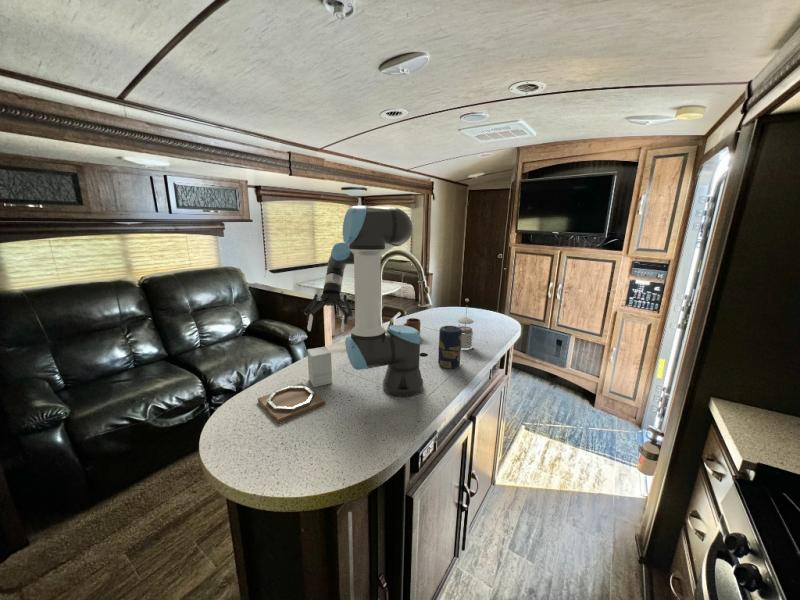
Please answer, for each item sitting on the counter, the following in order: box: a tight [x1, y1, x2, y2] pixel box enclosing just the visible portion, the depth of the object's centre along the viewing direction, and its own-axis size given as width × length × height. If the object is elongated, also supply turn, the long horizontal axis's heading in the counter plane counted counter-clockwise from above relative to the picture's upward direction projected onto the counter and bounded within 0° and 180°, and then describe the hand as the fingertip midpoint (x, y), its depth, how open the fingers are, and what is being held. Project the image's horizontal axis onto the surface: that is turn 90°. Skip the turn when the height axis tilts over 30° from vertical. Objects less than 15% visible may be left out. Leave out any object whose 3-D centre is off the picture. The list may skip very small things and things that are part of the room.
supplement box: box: [306, 346, 333, 388], centre depth 120 cm, size 7×7×13 cm
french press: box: [457, 298, 475, 348], centre depth 156 cm, size 10×12×25 cm
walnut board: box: [257, 382, 326, 424], centre depth 107 cm, size 16×16×2 cm
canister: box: [437, 325, 463, 369], centre depth 136 cm, size 10×10×18 cm
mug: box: [403, 317, 421, 334], centre depth 170 cm, size 12×8×9 cm, turn 138°
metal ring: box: [267, 385, 315, 412], centre depth 106 cm, size 14×14×1 cm
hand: (325, 330), depth 129 cm, fingers open, 13 cm apart
